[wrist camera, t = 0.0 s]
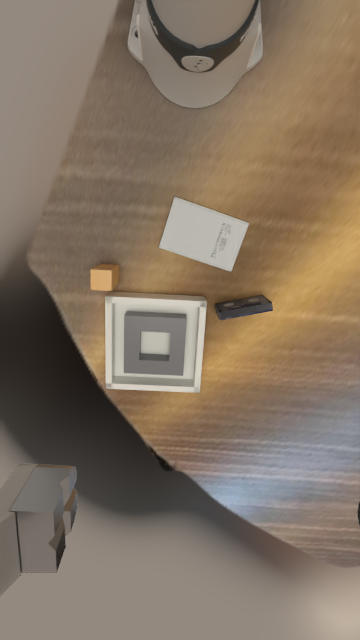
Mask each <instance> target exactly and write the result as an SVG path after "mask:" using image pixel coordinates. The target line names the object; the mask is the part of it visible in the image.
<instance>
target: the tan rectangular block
mask: <svg viewBox="0 0 360 640" xmlns="http://www.w3.org/2000/svg"><path fill="white" fill-rule="evenodd" d="M118 284H119V265H111V264H100V265H98V266H96V267H94V268H92V269H91V290H104V291H112V290H113V289H114V288H115V287H116V286H117V285H118Z"/></svg>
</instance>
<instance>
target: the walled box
mask: <svg viewBox="0 0 360 640" xmlns="http://www.w3.org/2000/svg"><path fill="white" fill-rule="evenodd" d="M206 307H207V301H206V298H205V296H190V295H170V294H151V293H132V292H113V291H110V292H109V293H108V294H107V295H106V296H105V340H106V389H127V390H150V391H173V392H196V393H200V382H201V369H202V357H203V344H204V332H205V319H206Z"/></svg>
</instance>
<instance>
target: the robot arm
mask: <svg viewBox="0 0 360 640" xmlns="http://www.w3.org/2000/svg"><path fill="white" fill-rule="evenodd" d="M137 33H138V38H137V37H135V35H136V34H137ZM128 50H129V52H130V54H131V55H132V56H133V57H134V58H135V59H136V60H137V61H138V62H139V63H140V64H142V65H143V66H144V67H145V69H146V70H147V72H148V74H149V76H150V78H151V80H152V82H153V83H154V85H155V86H156V88H157V89H158V90H159V91H160V92H161V93H162V94H163V95H164V96H165V97H166V98H167V99H169V100H170V101H172V102H173V103H175V104H177V105H180V106H183V107H187V108H203V107H207V106H210V105H213V104H215V103H217V102H219V101H220V100H222V99H223V98H224V97H225V96H227V95H228V94H229V93H230V92H231V90H232V89H233V88H234V87H235V85H236V84H237V82H238V81H239V79H240V78H241V77H242V76H243V74H244V73H246V72H248V71H249V70H251V69H252V68H254V67H255V66H256V65H257V64H258V63H259V62H260V61H261V59H262V55H263V39H262V22H261V6H260V0H135V3H134V8H133V14H132V19H131V25H130V31H129V36H128ZM76 479H77V475H76V468H75V467H74V466H60V465H43V464H38V465H36V464H19V465H17V466H16V467H15V468H14V470H13V471H12V473H11V474H10V476H9V477H8V479H7V480H6V482H5V483H4V485H3V486H2V488H1V489H0V596H1V595H2V594H3V593H4V592H5V591H6V590H7V589H8V588H9V587H10V586H11V585H12V584H13V583H14V582H15V581H16V580H17V579H18V578H19V576H21V573H56V572H57V570H58V568H59V565H60V562H61V558H62V556H63V553H64V550H65V547H66V545H65V536H66V535H67V534H68V533H69V532H71V530H72V526H73V523H74V520H75V515H76V509H77V491H76V490H75V489H74V488H73V487H74V484H75V482H76ZM357 513H358V521H359V525H360V502H359V506H358V511H357Z"/></svg>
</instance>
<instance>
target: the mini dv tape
mask: <svg viewBox="0 0 360 640" xmlns="http://www.w3.org/2000/svg"><path fill="white" fill-rule="evenodd" d="M215 308H216V313H217V315H218V317H219V319H220V320H225V319H230V318H236V317H241V316H246V315H252V314H257V313H262V312H268V311H273V307H272V302H271V301H269V300H268V299H267V298H266V297H264V296H263V295H260V296H255V297H249V298H244V299H239V300H233V301H228V302H223V303H217V304H215Z"/></svg>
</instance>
